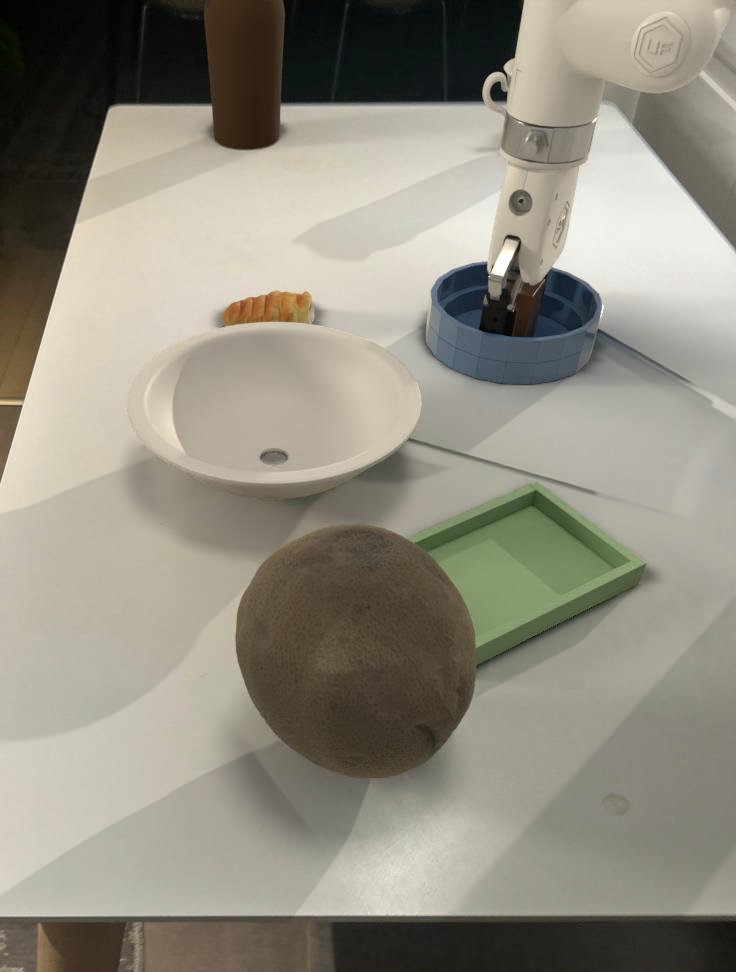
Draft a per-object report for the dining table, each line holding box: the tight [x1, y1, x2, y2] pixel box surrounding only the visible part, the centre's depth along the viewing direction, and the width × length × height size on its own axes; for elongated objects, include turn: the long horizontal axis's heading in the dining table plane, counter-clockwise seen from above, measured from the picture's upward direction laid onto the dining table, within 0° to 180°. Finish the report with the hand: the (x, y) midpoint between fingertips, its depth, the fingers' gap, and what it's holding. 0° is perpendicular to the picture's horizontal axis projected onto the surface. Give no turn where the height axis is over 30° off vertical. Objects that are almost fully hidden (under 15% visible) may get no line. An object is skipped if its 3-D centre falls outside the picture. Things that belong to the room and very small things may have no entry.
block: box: [505, 272, 545, 338], centre depth 93 cm, size 4×4×6 cm
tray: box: [405, 481, 647, 666], centre depth 71 cm, size 18×12×2 cm, turn 121°
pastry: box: [221, 290, 315, 327], centre depth 97 cm, size 9×7×4 cm
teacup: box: [482, 57, 515, 118], centre depth 128 cm, size 12×15×10 cm
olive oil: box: [203, 0, 286, 150], centre depth 127 cm, size 11×11×25 cm
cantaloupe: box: [234, 523, 477, 780], centre depth 56 cm, size 14×14×15 cm
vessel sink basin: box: [126, 322, 423, 500], centre depth 80 cm, size 24×24×7 cm
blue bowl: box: [424, 260, 605, 385], centre depth 94 cm, size 16×16×5 cm
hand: (510, 322), depth 94 cm, fingers open, 9 cm apart
